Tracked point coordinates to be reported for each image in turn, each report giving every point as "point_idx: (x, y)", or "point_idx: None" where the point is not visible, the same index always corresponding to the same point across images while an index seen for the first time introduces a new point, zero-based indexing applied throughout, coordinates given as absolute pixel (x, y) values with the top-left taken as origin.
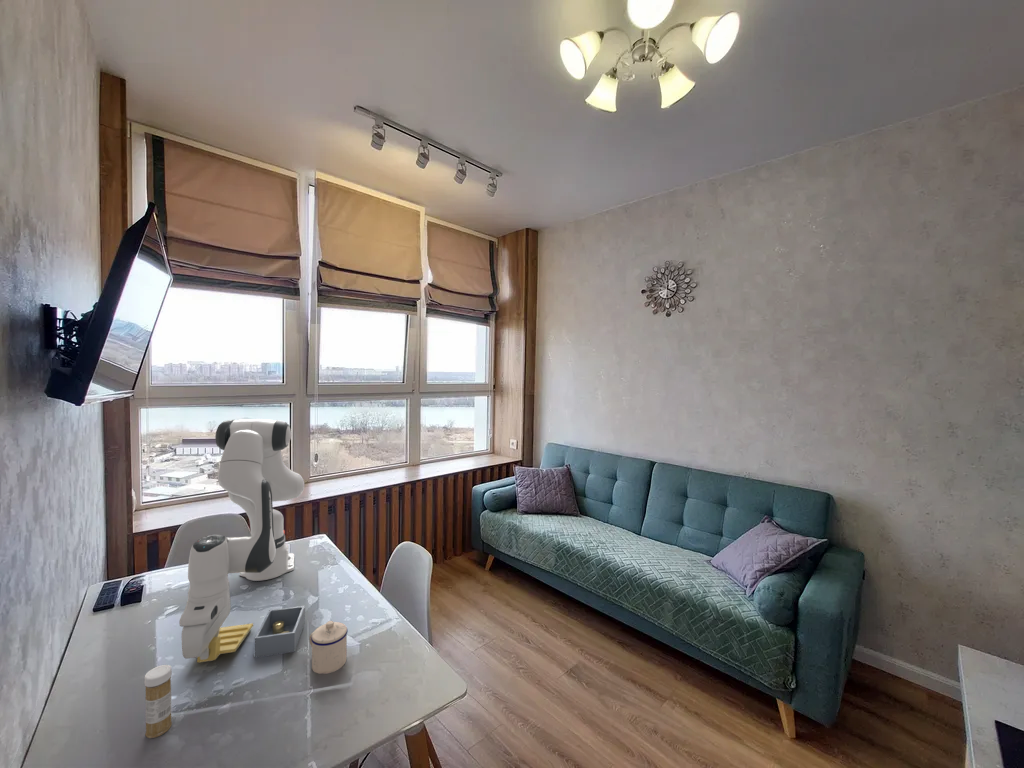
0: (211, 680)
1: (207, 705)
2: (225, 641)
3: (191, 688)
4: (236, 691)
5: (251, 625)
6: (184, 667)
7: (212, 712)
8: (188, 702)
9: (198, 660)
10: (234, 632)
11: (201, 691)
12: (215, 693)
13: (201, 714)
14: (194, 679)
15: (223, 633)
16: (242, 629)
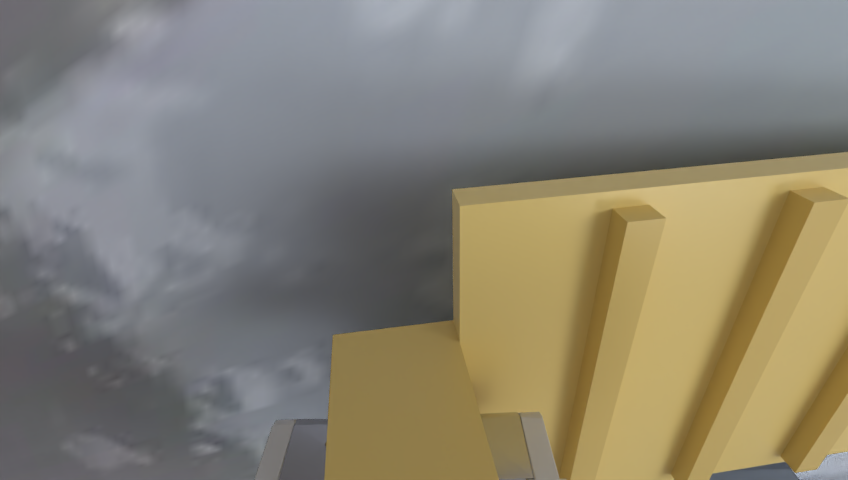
0: (318, 336)
1: (108, 387)
2: (597, 445)
3: (244, 255)
4: (221, 460)
5: (842, 450)
6: (530, 79)
7: (66, 421)
8: (113, 292)
9: (334, 355)
10: (791, 400)
11: (216, 322)
12: (202, 390)
13: (41, 386)
14: (341, 234)
15: (842, 327)
16: (801, 436)
